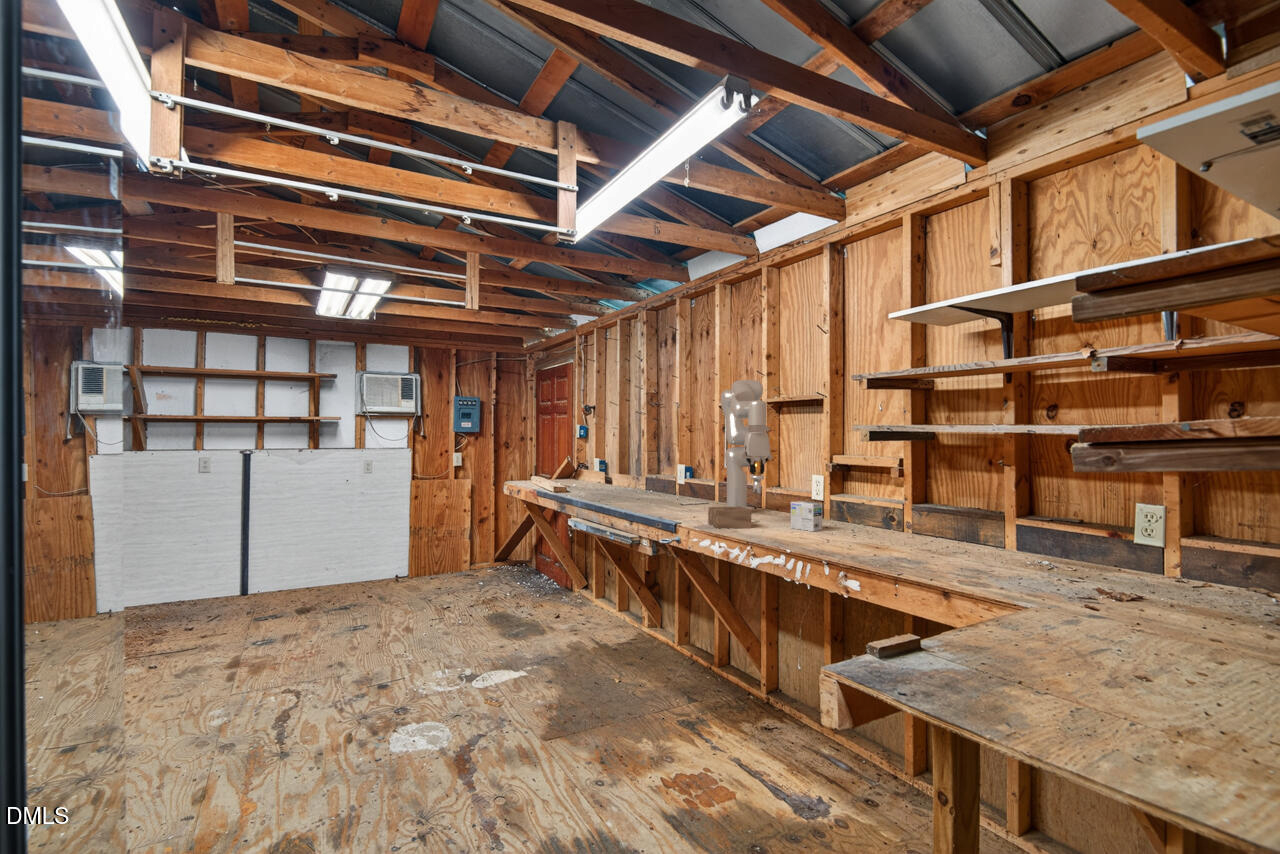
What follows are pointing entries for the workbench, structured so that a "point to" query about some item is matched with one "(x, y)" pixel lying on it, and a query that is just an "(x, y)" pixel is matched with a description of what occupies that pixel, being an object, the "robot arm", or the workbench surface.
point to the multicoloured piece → (757, 478)
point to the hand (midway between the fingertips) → (757, 473)
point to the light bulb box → (806, 516)
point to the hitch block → (729, 517)
